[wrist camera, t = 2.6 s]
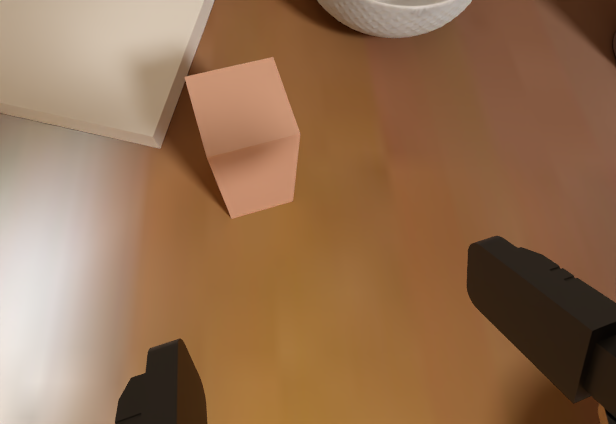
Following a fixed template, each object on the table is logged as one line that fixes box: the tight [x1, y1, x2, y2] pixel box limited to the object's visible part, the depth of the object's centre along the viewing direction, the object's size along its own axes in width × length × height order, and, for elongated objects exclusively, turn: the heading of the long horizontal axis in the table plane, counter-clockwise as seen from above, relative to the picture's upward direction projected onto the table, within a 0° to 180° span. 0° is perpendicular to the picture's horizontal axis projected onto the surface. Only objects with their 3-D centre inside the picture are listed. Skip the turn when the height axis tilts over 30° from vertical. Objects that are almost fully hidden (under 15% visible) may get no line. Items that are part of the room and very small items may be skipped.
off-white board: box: [0, 0, 214, 148], centre depth 33 cm, size 18×18×2 cm
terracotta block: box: [185, 57, 300, 219], centre depth 26 cm, size 5×5×11 cm
